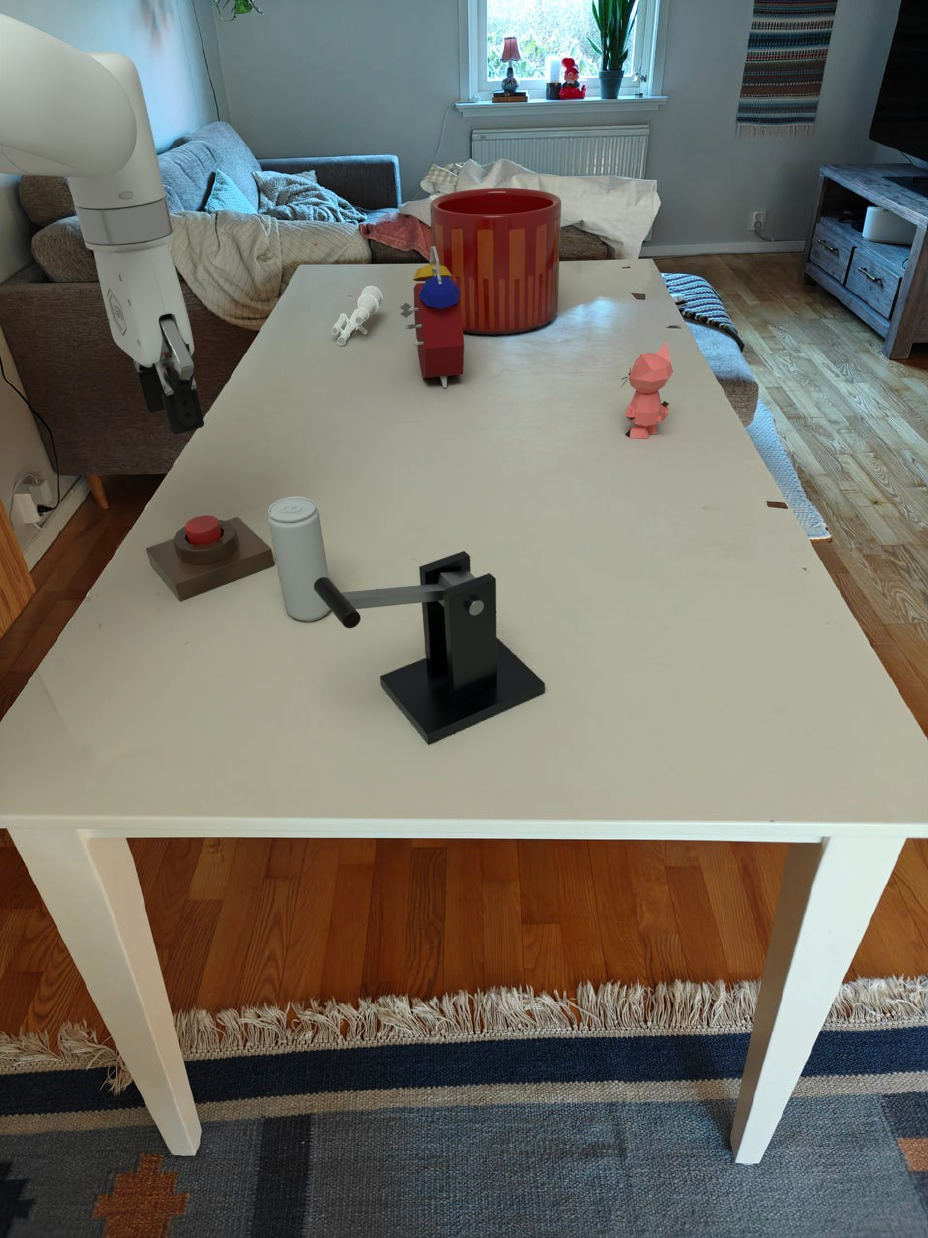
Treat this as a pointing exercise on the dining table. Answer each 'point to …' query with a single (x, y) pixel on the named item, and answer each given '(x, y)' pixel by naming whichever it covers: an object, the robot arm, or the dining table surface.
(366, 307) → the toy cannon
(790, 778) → the dining table surface
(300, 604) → the beverage can
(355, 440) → the dining table surface
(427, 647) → the bracket
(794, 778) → the dining table surface
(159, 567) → the button block
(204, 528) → the button
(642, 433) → the cat figurine
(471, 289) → the planter
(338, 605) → the lever
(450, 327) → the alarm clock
